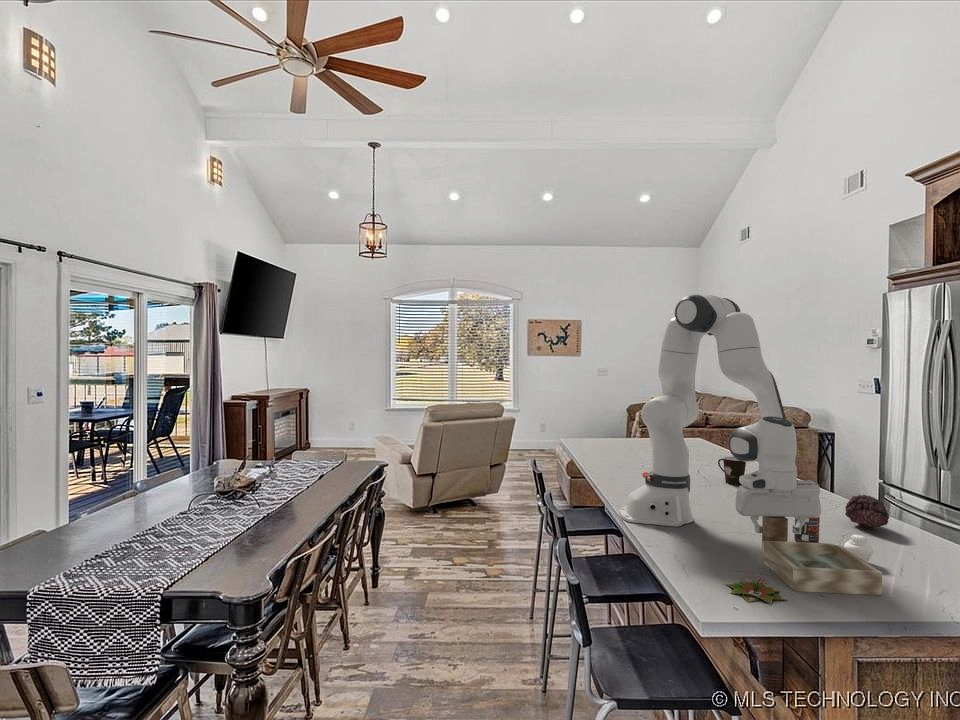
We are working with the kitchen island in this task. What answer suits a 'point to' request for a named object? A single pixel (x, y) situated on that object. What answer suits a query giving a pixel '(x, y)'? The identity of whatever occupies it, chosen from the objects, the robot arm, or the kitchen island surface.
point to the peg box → (821, 568)
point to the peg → (775, 529)
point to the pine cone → (866, 511)
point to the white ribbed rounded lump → (859, 547)
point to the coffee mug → (732, 469)
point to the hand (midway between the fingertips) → (777, 533)
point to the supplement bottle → (809, 530)
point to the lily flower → (755, 590)
